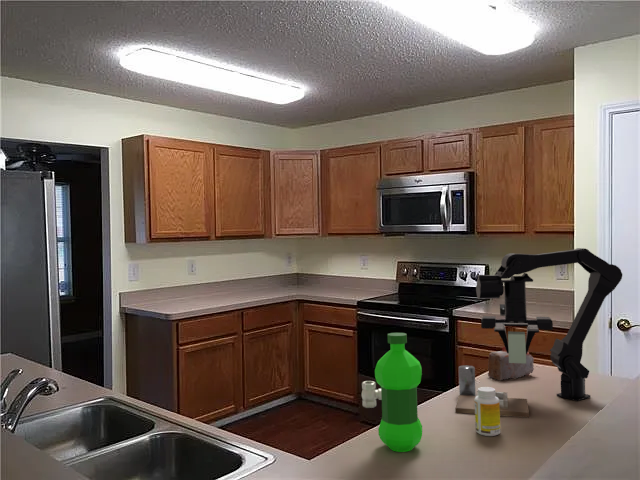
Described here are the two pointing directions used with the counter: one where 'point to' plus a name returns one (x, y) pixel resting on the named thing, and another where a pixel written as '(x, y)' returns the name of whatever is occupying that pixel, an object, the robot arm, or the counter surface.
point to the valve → (370, 394)
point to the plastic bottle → (399, 395)
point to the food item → (508, 366)
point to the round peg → (467, 380)
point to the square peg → (517, 347)
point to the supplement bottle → (487, 412)
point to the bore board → (507, 405)
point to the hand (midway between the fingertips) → (517, 353)
